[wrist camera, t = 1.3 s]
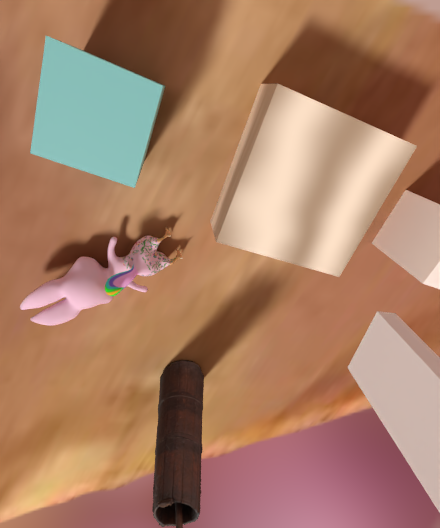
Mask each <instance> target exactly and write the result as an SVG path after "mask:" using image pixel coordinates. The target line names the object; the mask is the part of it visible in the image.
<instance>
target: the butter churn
mask: <svg viewBox="0 0 440 528" xmlns="http://www.w3.org/2000/svg"><path fill="white" fill-rule="evenodd" d="M203 381H204V375H203V374H202V372H201V369H200V367H199V366H198V365H197V364H195V363H194V362H192V361H191V362H190V361H176V362H172V363H171V365H170V366H168V367H167V368H166V369H165V370H164V371H163V374H162V376H161V378H160V395H159V405H158V426H157V439H156V449H155V455H156V457H155V473H154V487H153V499H154V500H153V513H154V514H153V515H154V518H155V519H156V520H157V522H158V523H159V525H161V526H162V527H164V526H176V528H183V527H182V525H183V524H184V525H185V524H187V523H191V522H194V521H196V520H197V519H198V517H199V514H200V494H201V490H200V489H201V487H200V485H201V483H200V482H201V453H202V410H203V387H204V384H203V383H204V382H203Z"/></svg>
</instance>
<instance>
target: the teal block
mask: <svg viewBox="0 0 440 528" xmlns="http://www.w3.org/2000/svg"><path fill="white" fill-rule="evenodd" d="M164 89H165V86H164V85H162V84H160V83H157V82H155V81H153V80H150V79H148V78H146V77H143V76H141V75H139V74H136V73H134V72H132V71H129V70H127V69H125V68H123V67H120V66H118V65H116V64H113V63H111V62H109V61H106V60H104V59H102V58H99V57H97V56H95V55H92V54H90V53H88V52H85V51H83V50H81V49H78V48H76V47H73V46H71V45H68V44H66V43H63V42H61V41H58V40H56V39H53V38H51V37H48V36H46V40H45V47H44V55H43V62H42V70H41V77H40V84H39V92H38V99H37V107H36V114H35V122H34V129H33V137H32V144H31V152H30V153H31V154H34V155H37V156H40V157H43V158H46V159H49V160H52V161H55V162H58V163H61V164H64V165H67V166H70V167H73V168H76V169H79V170H82V171H85V172H88V173H91V174H94V175H97V176H100V177H103V178H106V179H109V180H112V181H115V182H118V183H121V184H124V185H127V186H130V187H134V188H135V186H136V183H137V180H138V178H139V175H140V172H141V169H142V166H143V164H144V160H145V157H146V153H147V150H148V146H149V143H150V139H151V135H152V132H153V128H154V125H155V121H156V118H157V114H158V110H159V107H160V103H161V100H162V96H163V93H164Z"/></svg>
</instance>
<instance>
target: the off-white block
mask: <svg viewBox="0 0 440 528" xmlns="http://www.w3.org/2000/svg"><path fill="white" fill-rule="evenodd" d="M372 244H373V245H374V246H376V247H377V248H378V249H379V250H381V251H382V252H383V253H385V254H386V255H387V256H388V257H390V258H391V259H392V260H394V261H395V262H396V263H397V264H399V265H400V266H401V267H402V268H404V269H405V270H406V271H408V272H409V273H410V274H411V275H413V276H414V277H415V278H416V279H418V280H419V281H420V282H422V283H423V284H426V285H429V286H432V287H435V288H438V289H440V204H438V203H436V202H433V201H431V200H429V199H426V198H424V197H422V196H419V195H417V194H415V193H412V192H410V191H408V190H405V192H404V193H403V195H402V196H401V198H400V200H399V201H398V203H397V204H396V206H395V207H394V209H393V211H392V212H391V214H390V215H389V217H388V218H387V220H386V222H385V223H384V225H383V226H382V228H381V229H380V231H379V233H378V234H377V236H376V237H375V239H374V240H373V242H372Z"/></svg>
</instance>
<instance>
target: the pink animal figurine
mask: <svg viewBox="0 0 440 528" xmlns="http://www.w3.org/2000/svg"><path fill="white" fill-rule="evenodd" d="M166 228H167V227H166ZM166 228H165V229H166ZM165 231H166V233H165V235H164V236H163V237H162V238H155V237H153V236H150V235H148V236H144V237H142V238H141V239H139V240H138V241H137V242H136V243H135V245H134V246H133V248H132V249H131V251H130V253H129V254H128V255H127V256H125V257H117V256H116V255H115V251H114V247H115V245H116V243H117V238H116V237H112V238H111V240H110V243H109V246H108V264H109V266H108V268H104V267H102V266H101V265H100V264H99V263H98V262H97V261H96V260H95V259H93V258H90V257H80V258H78V259H77V261H76V262H75V263H74V265H73V266H72V267H71V269H70V270H69V271H68V273H67V274H66V275H65V276H64V277H62V278H60V279H55V280H51V281H48V282H46V283H44V284H43V285H41V286H40V287H38V288H37V289H36V290H34V291H33V292H32V293H30V294H29V295H28V296H27V297H26V298H25V299H24V300H23V302H22V303H21V305H20V308H21V309H22V310H25V309H32V308H39V307H43V306H45V305H48V304H50V303H53V302H55V301H58V300H60V299H61V298H64V297H66V299H64V300H62V301H60V302H58V303H56V304H54V305H52V306H51V307H49V308H47V309H45V310H43V311H41V312H40V313H38V314H37V315H35V316H34V317H32V318H31V321H33V322H35V323H39V324H43V325H57V324H61V323H64V322H67V321H69V320H71V319H73V318H75V317H76V316H77V315H78V314H79V312H80V311H81V310H82V309H87V308H91V307H93V306H96V305H98V304H104V303H109V302H110V301H111V300H112V299H113V296H115V295H117V294H118V293H119V292H120V291H121V290H123V289H124V288H125V287H126V286H128V287H130V288H132V289H135V290H138V291H141V292H147V290H148V288H147V287H145V286H140V285H137V284H136V283H134V282H133V281H132V280H133V279H134V278H135V276H136V275H137V274H138V275H141V276H151V275H154V274H156V273H157V272H159V271H160V270H162V269H164V268H165V267H167V266H169V265H172V264H173V263H174V262H175V261H176V260H178V259H179V258H181V259H182V255H181V253H180V252H179V251H178V250H177V249H178V248H177V249H176V251H177V256H176V258H174V259H169V258H167V257H166V255H165V254H163V253H162V252H158V251H157V248H158V246H159V244H160V242H161V241H162V240H163V239H165V238H166V237H168V236H169V237H170V236H171V234H170V232H169V230H168V229H166V230H165Z"/></svg>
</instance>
